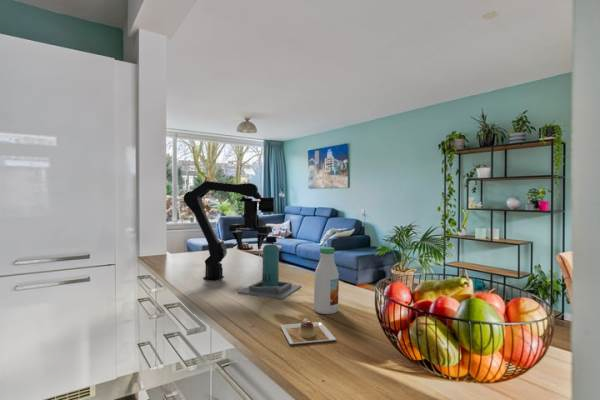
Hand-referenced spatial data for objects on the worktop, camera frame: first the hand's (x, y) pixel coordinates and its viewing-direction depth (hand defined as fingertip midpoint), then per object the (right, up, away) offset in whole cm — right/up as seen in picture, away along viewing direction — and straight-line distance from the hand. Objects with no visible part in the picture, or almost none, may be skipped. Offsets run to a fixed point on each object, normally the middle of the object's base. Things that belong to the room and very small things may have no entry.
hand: (249, 248), depth 143 cm
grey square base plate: (+11, -13, -16) cm, 23 cm away
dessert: (+23, -15, -56) cm, 62 cm away
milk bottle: (+30, -14, -38) cm, 50 cm away
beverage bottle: (+10, -13, -16) cm, 23 cm away
